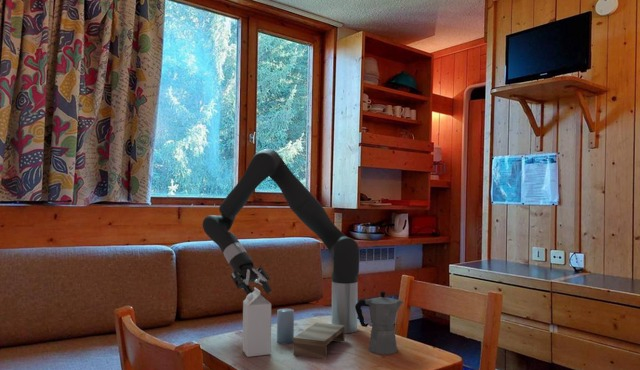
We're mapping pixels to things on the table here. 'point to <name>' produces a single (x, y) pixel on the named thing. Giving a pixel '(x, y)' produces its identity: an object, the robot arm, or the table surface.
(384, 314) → the coffeepot
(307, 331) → the shelf
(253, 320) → the milk carton
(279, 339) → the blue dome-topped cylinder
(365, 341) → the table surface
